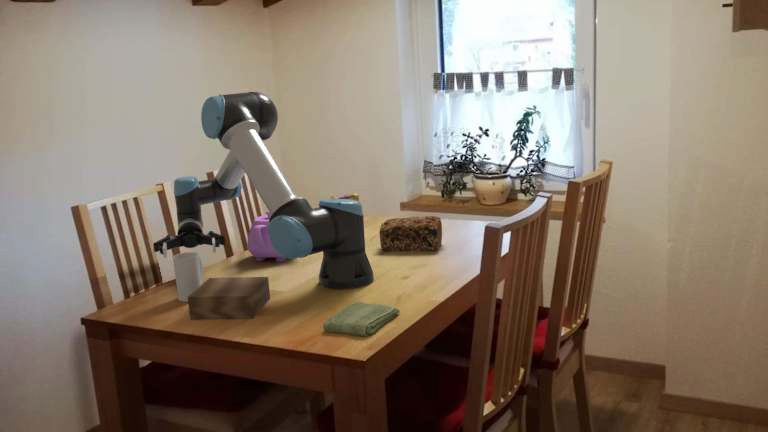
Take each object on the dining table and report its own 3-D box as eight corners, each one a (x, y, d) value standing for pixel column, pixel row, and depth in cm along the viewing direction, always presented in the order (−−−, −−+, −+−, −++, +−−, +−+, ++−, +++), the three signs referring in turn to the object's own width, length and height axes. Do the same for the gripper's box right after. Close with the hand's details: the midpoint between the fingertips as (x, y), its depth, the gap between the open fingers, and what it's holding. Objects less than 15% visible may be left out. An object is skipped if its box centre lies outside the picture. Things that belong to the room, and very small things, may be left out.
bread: (443, 243, 258) (442, 213, 256) (438, 252, 248) (436, 221, 246) (386, 244, 262) (384, 214, 260) (379, 252, 252) (377, 221, 250)
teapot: (294, 268, 239) (290, 219, 236) (235, 266, 246) (230, 218, 243) (320, 251, 257) (317, 205, 254) (264, 249, 264) (260, 205, 261)
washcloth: (402, 314, 194) (401, 302, 194) (369, 340, 179) (368, 326, 178) (354, 309, 200) (353, 297, 199) (318, 333, 185) (317, 320, 184)
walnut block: (270, 298, 212) (268, 276, 210) (252, 319, 196) (250, 295, 195) (211, 299, 214) (209, 277, 213) (190, 320, 198) (187, 297, 197)
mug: (193, 303, 212) (188, 259, 209) (172, 301, 214) (167, 258, 212) (215, 291, 221) (210, 249, 218) (195, 290, 223) (190, 248, 221)
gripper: (232, 241, 249) (235, 258, 228) (149, 249, 244) (145, 268, 223) (230, 217, 247) (233, 232, 227) (146, 225, 242) (141, 242, 222)
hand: (189, 250), depth 225 cm, fingers open, 13 cm apart
